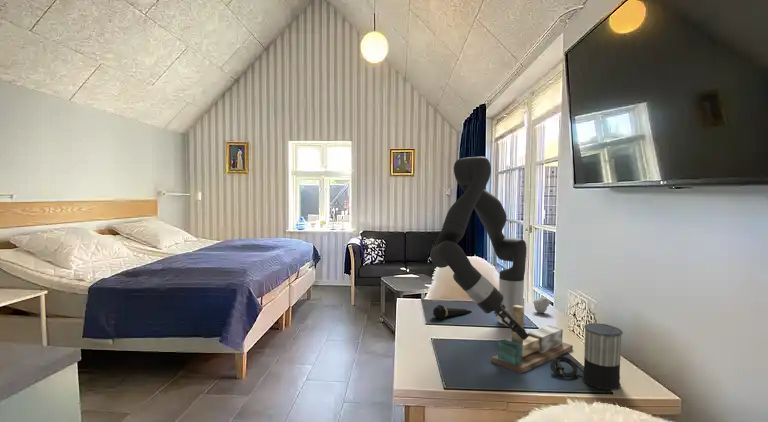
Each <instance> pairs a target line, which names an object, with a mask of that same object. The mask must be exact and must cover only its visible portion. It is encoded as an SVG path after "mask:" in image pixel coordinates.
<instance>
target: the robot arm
mask: <svg viewBox="0 0 768 422" xmlns="http://www.w3.org/2000/svg"><path fill="white" fill-rule="evenodd" d="M491 166H492V165H491V162H490V160H489V159H488V157H485V156H470V157H462V158H458V159H457V160H456V161H455V162H454V164H453V175H454V177H455V180H456V182H457V184H458V186H460V188H461V189H462V191H463V194H462V195H461V196H460V197H458V199H457V200H455V202H453V204H452V205H451V206H450V208H449V209H448V210H447V213H446V216H445V219H444V222H443V224H442V228H441V231H440V232H439V234H438V235H437V237H436V240H435V241H434V243H433V245H432V247H431V250H430V257H429V258H430V261H431V264H433V265H434V266H435V267H436V268H441V269H443V268H447V267H449V268H450V269H451V270H452V272H453V274H452V276H453V277H452V278H453V281H455V283H457V285H458V286H459V287H461V289H462V290H463V291H464V292H465V293H466V294H467V296H468V297H469V298H470V299H471V301H473V302H474V304H475V305H477V306H478V308H479V309H480V310H481V311H482V312H484V313H485V314H491V313H492V312H494V313H493V314H494V315H495V317H496V318H497V319H498V323H500V324H502V325H504V326H506V327H508V328H509V329H510V330H511V332H512V331H513V332H516V333H517V334H518V335H519V336H520V337H521V338H522V339H523V340H525V339H526V338H527V337H528V336H529V335H528V332H527V331H526V329H525V328H524V327H523V328H522V327H521V326H520V324H518V323H517V322H516V321H515V317H514V316H513V315H512V309H513V306H514V305H519V306H523V307H524V308H525V298H524V296H525V295H524V291H525V288H524V287H525V274H526V273H525V272H526V262H527V249H528V248H527V247H528V246H527V243H526V241H525V240H524V239H523V238H519V237H517V238H516V237H506V236H505V235H504V233H503V229H504V227H505V225H506V223H507V218H508V217H507V216H508V215H507V213H506V210H505V208H504V207H503V204H502V202H501V200H499V199H498V198H497V196H495V195H493V194H492V193H491V192H489V191H488V190H486V189H485V188H486V186H487V185H488V184H489V183H488V182H489V180H490V178H491V174H492V167H491ZM473 211H475V212H476V214H477V217H478V218H479V220H480V223H481V224H482V226H483V228H484V229H485V232H486V233H487V235H488V238H489V240H490V243H491V245H492V248H493V250H494V254H495V255H496V257H497V258H498V259H499V260H501V261H503V262H511V263H512V265H511V267H510V268H506V269H502V270H500V271H499V275H498V276H499V277H498V279H499V280H498V289H497V288H496V287H495V285H494V284H492V283H491V282H490V281H489V280H488V279H487V278H486V277H484V275H482V273H481V272H479V270H478V269H476V268H475V267H474V266H473V265H472V263H471V261H470V259H469V258H468V256H467V255H466V253H465V252H464V250H463V248H462V247H461V246H460V245H458V243H459V242H460V241H461V240H462V239H463V237H464V236H465V233H466V230H467V227H468V224H469V221H470V219H471V218H470V217H471V216H472V213H473ZM523 323H525V320H524V321H523ZM514 324H516V325H515V326H514V327H512V326H513V325H514Z"/></svg>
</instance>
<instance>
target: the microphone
mask: <svg viewBox="0 0 768 422" xmlns="http://www.w3.org/2000/svg"><path fill="white" fill-rule="evenodd" d="M432 311H433V312H432V313H433V316H434V317H435V318H436V319H439V320H443V319H445V318H446V317H450V318H452V317H454V316H461V315H466V314H471V313H472V312H473V311H472V310H470V309H465V308H455V307H454V308H452V307H445V306H444V305H441V304H438V305H437V306H435V307H434V308H433V310H432Z"/></svg>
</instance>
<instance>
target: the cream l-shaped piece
mask: <svg viewBox="0 0 768 422" xmlns="http://www.w3.org/2000/svg"><path fill="white" fill-rule="evenodd" d="M512 315H513V316H514V317H515V321H516V322H517V323H518V324H520V326H521V327H522V328H524V322H525V306H524V307H523V306H519V305H514V306H513V309H512ZM523 321H524V322H523ZM515 325H516V324H514V325H513V326H512V327H514V326H515ZM511 341H514V342H517V343H520V344H522V357H524V356H526V355H528V354H531V353H533V352H536V351H538V350H540V349H541V338H539V337H535V336H532V335H531V336H529V337H527V338H526V339H525V340H523V339H522V338H521V337H520V336H519V335H518V334H517V333H516V332H513V331H512V330H511Z"/></svg>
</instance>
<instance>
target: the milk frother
mask: <svg viewBox="0 0 768 422" xmlns="http://www.w3.org/2000/svg"><path fill="white" fill-rule="evenodd" d="M583 327H584V330H585V331H584V359H583V361H584V363H583V369H581V367H579V365H578V364H577V363H576V362H575V361H573V360H572V359H571V358H568V357H566V356H558V357H556V358H554V359H552V360H550V361H551V362H550V369H551V371H552V372H553V373H554V374H555V375H557V376H559V377H562V378H573V377H575V376H576V375H577V373H578V370H580V372H582V373H583V375H582V376H581V379H582V380H583V382H585V384H587V385H588V386H591V387H594V388H596V389H600V390H601V389H602V390H608V391H611V390H612V391H613V390H618V389H620V388H621V383H620V380H621V375H620V372H621V371H620V370H621V355H622V354H621V352H622V335H623V333H624V332H623V331H622V329H620V328H618V327H617V326H613V325H609V324H605V323H597V322H596V323H595V322H593V323H587V324H584V325H583ZM563 362H564V363H566V364H568V365H569V366H571V368H572V371H570V372H564V370H565V367H563V365H562V363H563Z"/></svg>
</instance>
